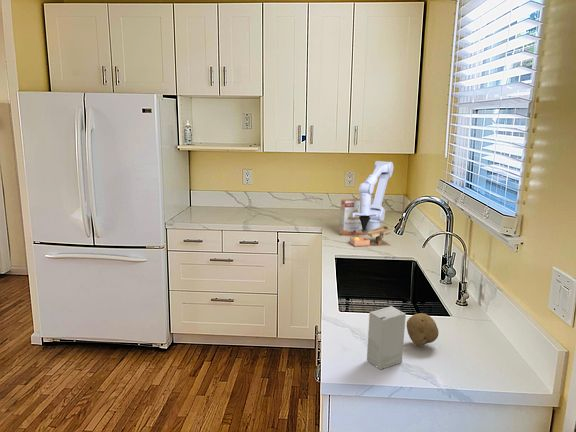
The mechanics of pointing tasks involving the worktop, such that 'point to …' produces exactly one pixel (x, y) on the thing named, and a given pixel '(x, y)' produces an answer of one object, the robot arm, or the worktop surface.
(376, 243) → the stand
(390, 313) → the skincare box
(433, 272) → the worktop surface
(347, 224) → the cracker box
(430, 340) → the potato
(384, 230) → the lever
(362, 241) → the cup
